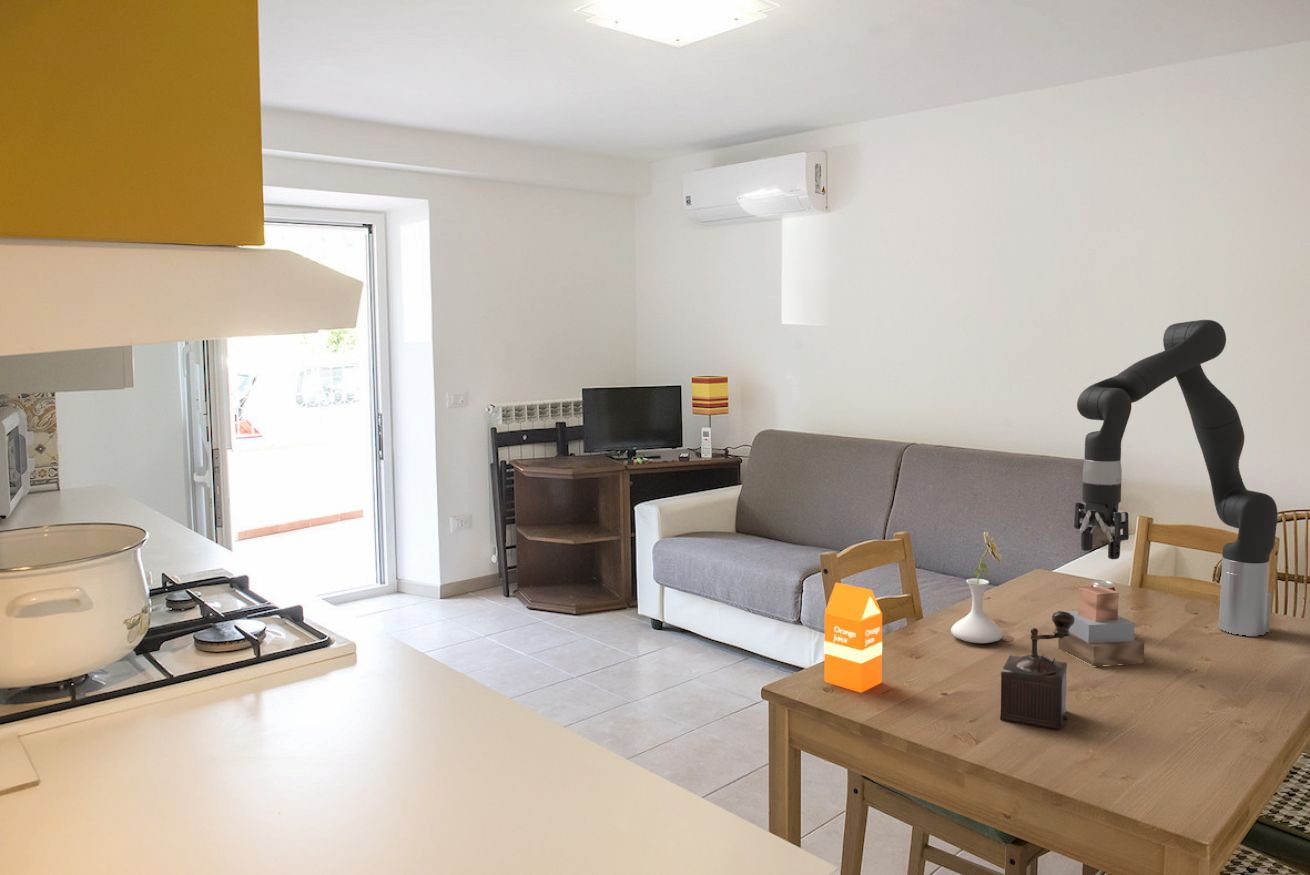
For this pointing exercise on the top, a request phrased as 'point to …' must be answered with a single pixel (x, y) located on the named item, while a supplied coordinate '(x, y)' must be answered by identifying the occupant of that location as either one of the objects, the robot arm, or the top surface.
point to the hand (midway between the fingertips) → (1099, 554)
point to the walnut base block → (1103, 651)
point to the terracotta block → (1098, 603)
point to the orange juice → (853, 638)
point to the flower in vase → (979, 606)
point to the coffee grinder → (1036, 683)
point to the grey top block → (1102, 629)
